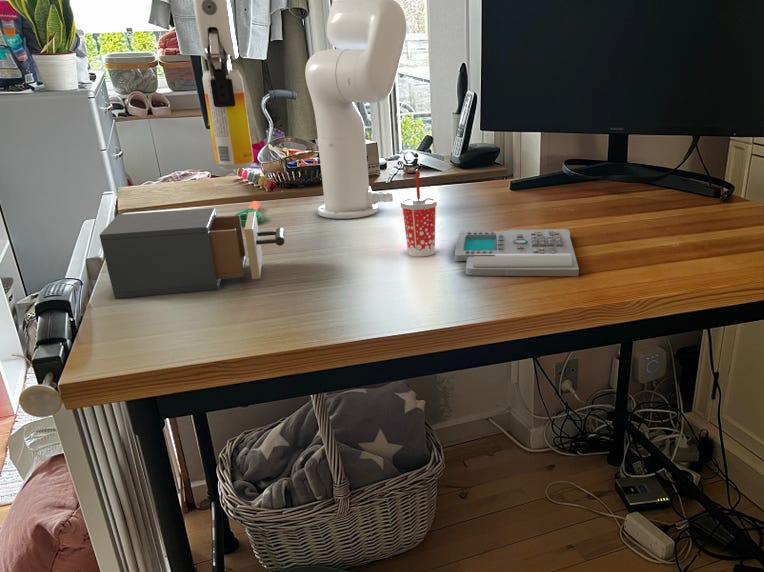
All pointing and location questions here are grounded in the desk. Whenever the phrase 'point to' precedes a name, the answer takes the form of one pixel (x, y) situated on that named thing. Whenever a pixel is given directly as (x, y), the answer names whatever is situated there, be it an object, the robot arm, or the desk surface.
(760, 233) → the desk surface
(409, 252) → the beverage cup
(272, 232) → the drawer
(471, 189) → the desk surface
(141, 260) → the cabinet
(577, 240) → the desk surface
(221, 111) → the beer can
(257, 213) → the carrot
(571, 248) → the office telephone
